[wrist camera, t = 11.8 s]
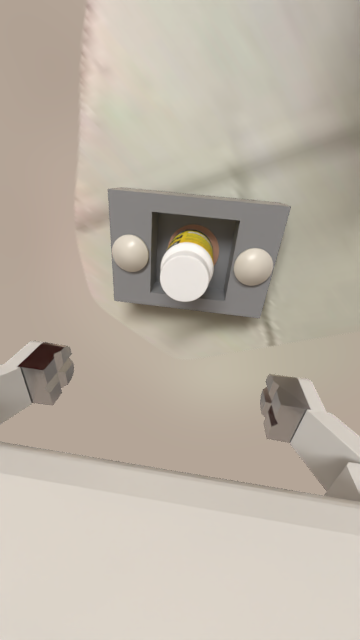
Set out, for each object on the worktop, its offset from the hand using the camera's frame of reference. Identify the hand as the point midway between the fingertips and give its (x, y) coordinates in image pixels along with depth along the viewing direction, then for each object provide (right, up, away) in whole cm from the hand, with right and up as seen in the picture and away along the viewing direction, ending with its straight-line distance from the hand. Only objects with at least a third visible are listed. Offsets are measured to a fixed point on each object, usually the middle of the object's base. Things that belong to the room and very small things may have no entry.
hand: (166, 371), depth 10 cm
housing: (+2, +10, +18) cm, 20 cm away
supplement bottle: (+2, +10, +17) cm, 20 cm away
